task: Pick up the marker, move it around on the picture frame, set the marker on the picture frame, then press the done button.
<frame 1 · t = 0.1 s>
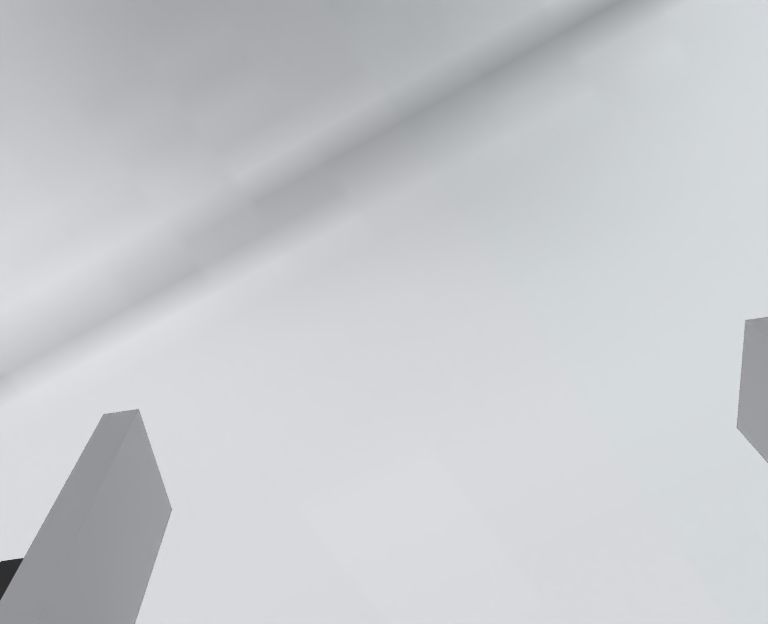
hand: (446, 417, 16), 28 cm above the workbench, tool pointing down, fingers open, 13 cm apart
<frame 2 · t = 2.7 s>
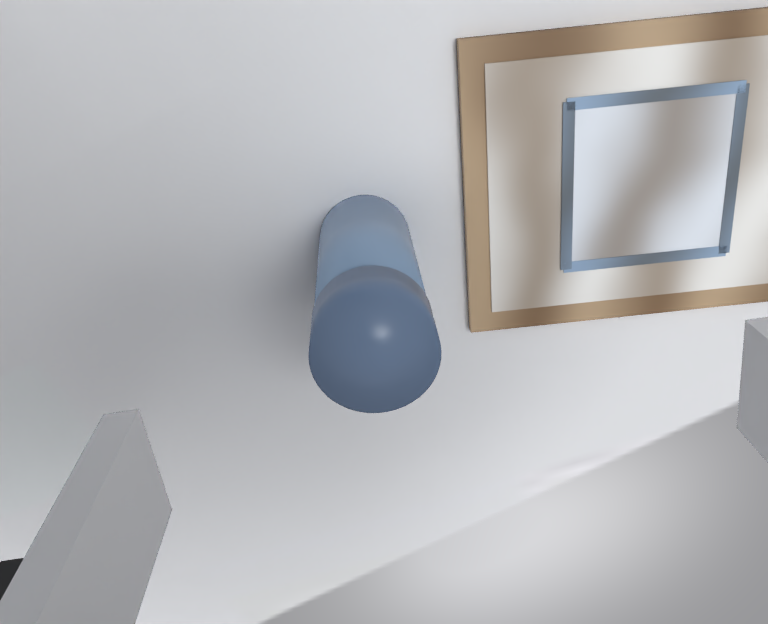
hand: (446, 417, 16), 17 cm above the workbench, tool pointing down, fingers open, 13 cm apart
marker: (364, 238, 32), on the workbench
picture frame: (689, 172, 32), on the workbench
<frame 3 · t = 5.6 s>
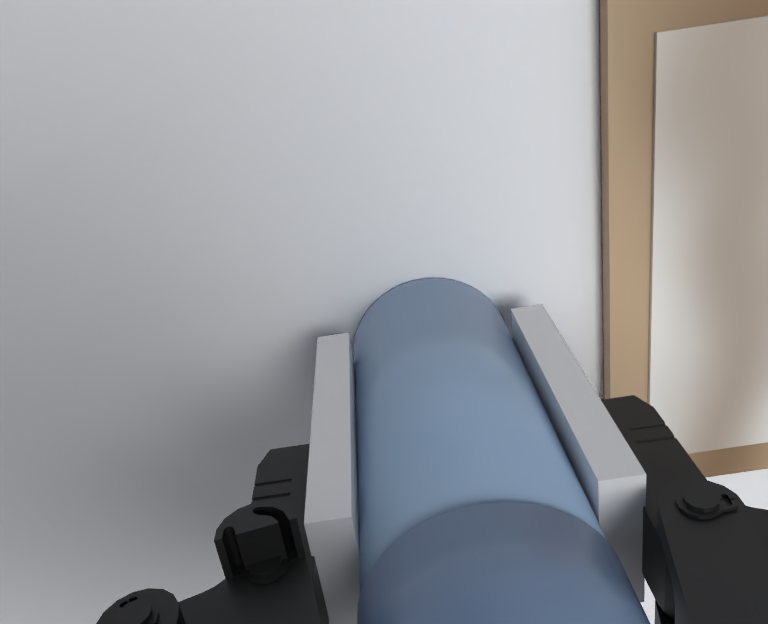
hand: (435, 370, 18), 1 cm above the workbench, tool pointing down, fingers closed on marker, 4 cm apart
marker: (431, 349, 19), on the workbench, touching gripper
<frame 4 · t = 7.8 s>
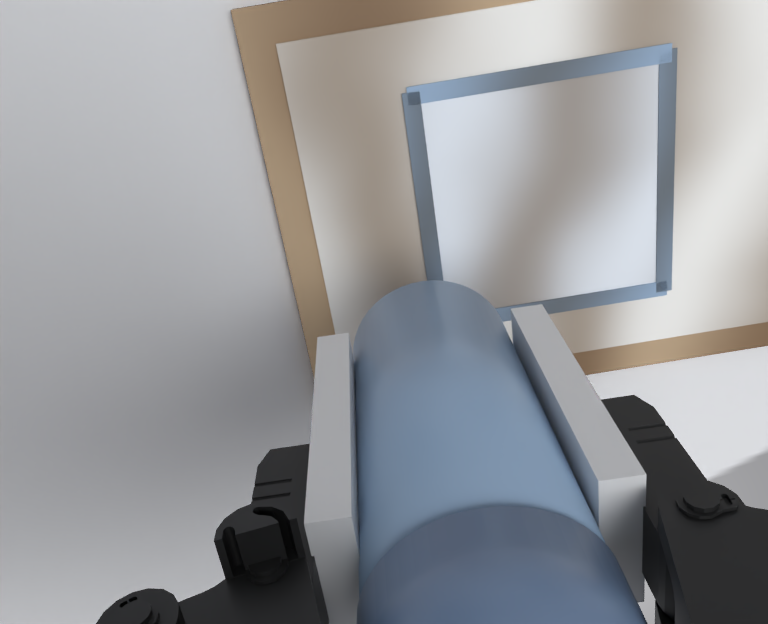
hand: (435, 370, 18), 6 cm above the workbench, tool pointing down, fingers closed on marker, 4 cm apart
marker: (430, 352, 19), point 5 cm above the workbench, touching gripper
picture frame: (604, 181, 22), on the workbench
when the fingers open (3 cm above the workbench, at t = 10.2 s): marker stays where it is, resting on picture frame.
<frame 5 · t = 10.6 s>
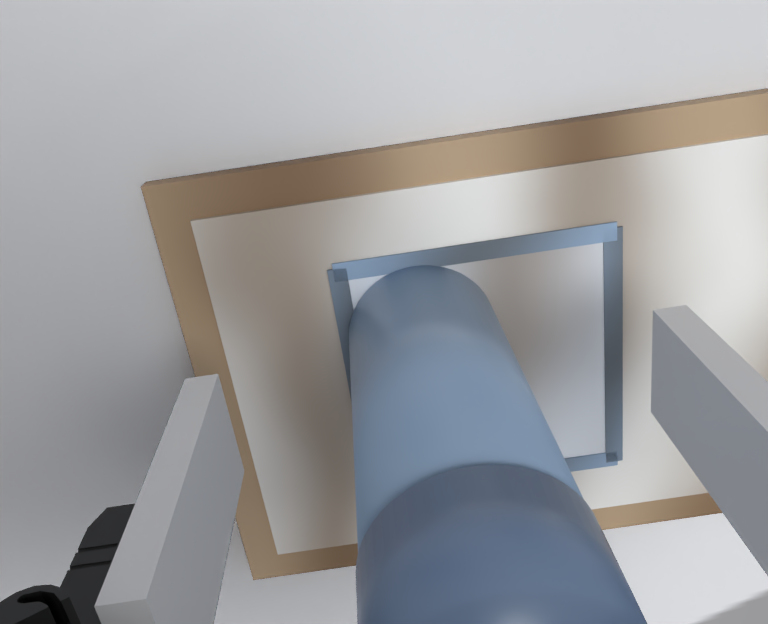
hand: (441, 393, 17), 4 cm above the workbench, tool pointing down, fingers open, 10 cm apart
marker: (422, 334, 20), point 1 cm above the workbench, touching picture frame
picture frame: (550, 350, 21), on the workbench
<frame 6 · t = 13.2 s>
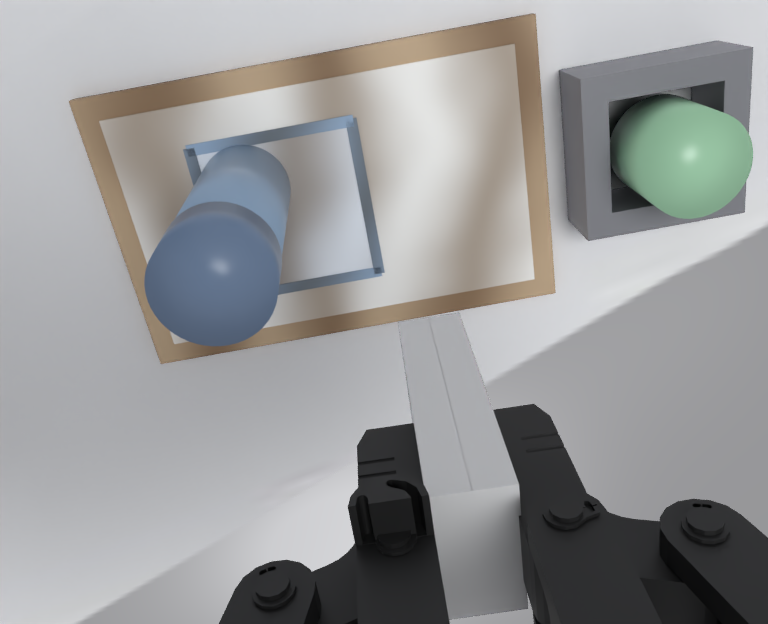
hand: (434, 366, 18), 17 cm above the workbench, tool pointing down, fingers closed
marker: (245, 189, 32), point 1 cm above the workbench, touching picture frame
button housing: (639, 134, 33), on the workbench
done button: (676, 154, 30), point 4 cm above the workbench, slide at 0.0 cm
picture frame: (331, 201, 34), on the workbench
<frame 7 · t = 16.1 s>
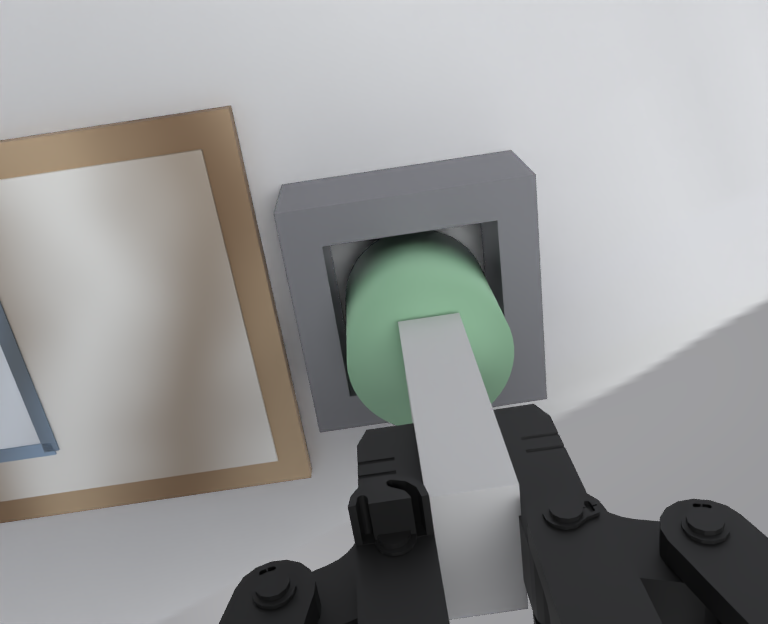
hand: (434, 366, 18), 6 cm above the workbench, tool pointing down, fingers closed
button housing: (410, 273, 23), on the workbench
done button: (422, 324, 20), point 4 cm above the workbench, slide at 0.2 cm, touching gripper
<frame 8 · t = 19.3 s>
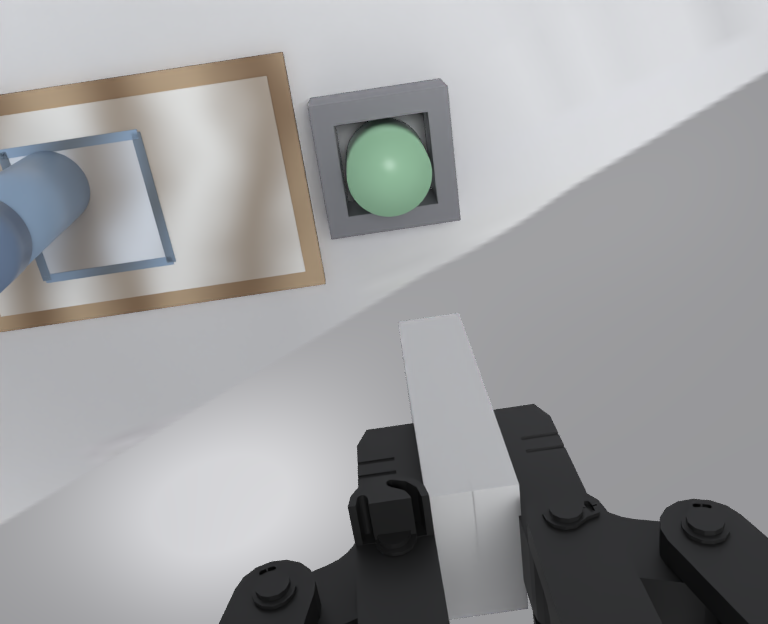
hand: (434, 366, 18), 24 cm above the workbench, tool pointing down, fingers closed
marker: (51, 187, 39), point 1 cm above the workbench, touching picture frame
button housing: (384, 153, 40), on the workbench
done button: (387, 165, 37), point 3 cm above the workbench, slide at 0.9 cm
picture frame: (128, 200, 40), on the workbench
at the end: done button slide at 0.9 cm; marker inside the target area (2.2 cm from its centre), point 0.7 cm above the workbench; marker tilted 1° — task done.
